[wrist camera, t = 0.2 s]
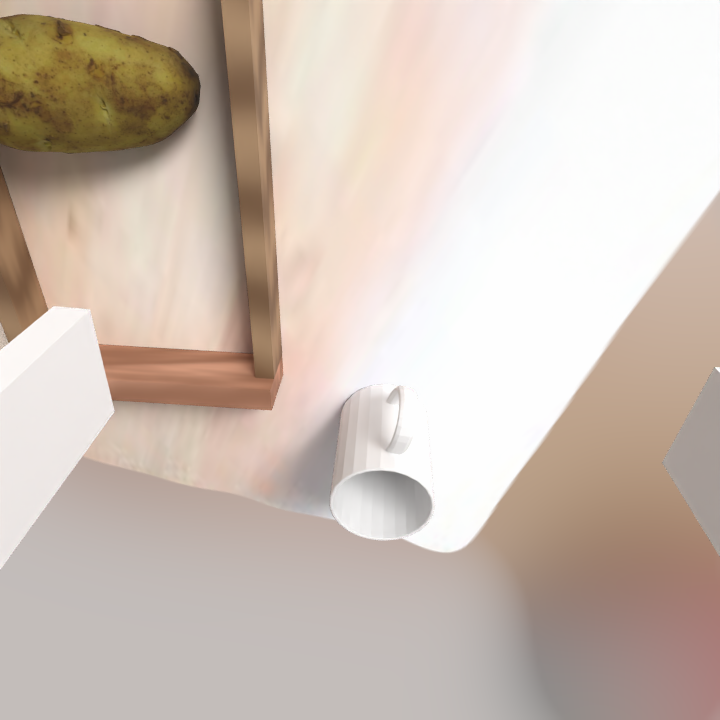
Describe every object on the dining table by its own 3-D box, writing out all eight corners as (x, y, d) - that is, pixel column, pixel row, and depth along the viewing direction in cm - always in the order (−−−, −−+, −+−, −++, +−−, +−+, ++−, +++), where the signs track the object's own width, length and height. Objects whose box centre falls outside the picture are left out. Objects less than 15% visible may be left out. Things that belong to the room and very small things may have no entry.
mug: (413, 456, 50) (418, 548, 41) (333, 440, 49) (321, 530, 40) (452, 352, 43) (468, 436, 34) (360, 332, 42) (352, 412, 34)
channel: (-108, -81, 29) (-191, -98, 25) (258, -66, 29) (235, -82, 25) (48, 360, 46) (13, 394, 41) (282, 374, 45) (271, 410, 41)
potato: (193, 184, 37) (148, 220, 30) (5, 113, 35) (-88, 133, 28) (217, 58, 32) (170, 66, 25) (4, -32, 30) (-107, -48, 24)
